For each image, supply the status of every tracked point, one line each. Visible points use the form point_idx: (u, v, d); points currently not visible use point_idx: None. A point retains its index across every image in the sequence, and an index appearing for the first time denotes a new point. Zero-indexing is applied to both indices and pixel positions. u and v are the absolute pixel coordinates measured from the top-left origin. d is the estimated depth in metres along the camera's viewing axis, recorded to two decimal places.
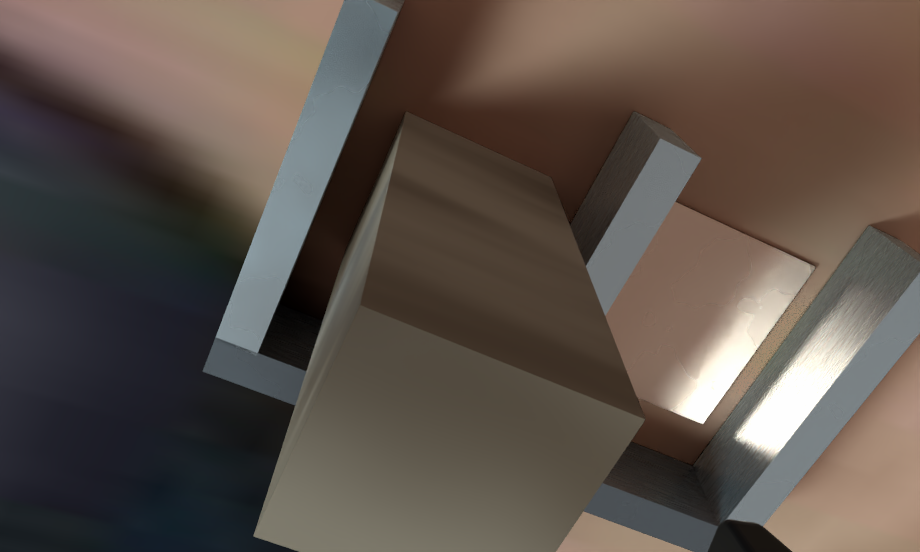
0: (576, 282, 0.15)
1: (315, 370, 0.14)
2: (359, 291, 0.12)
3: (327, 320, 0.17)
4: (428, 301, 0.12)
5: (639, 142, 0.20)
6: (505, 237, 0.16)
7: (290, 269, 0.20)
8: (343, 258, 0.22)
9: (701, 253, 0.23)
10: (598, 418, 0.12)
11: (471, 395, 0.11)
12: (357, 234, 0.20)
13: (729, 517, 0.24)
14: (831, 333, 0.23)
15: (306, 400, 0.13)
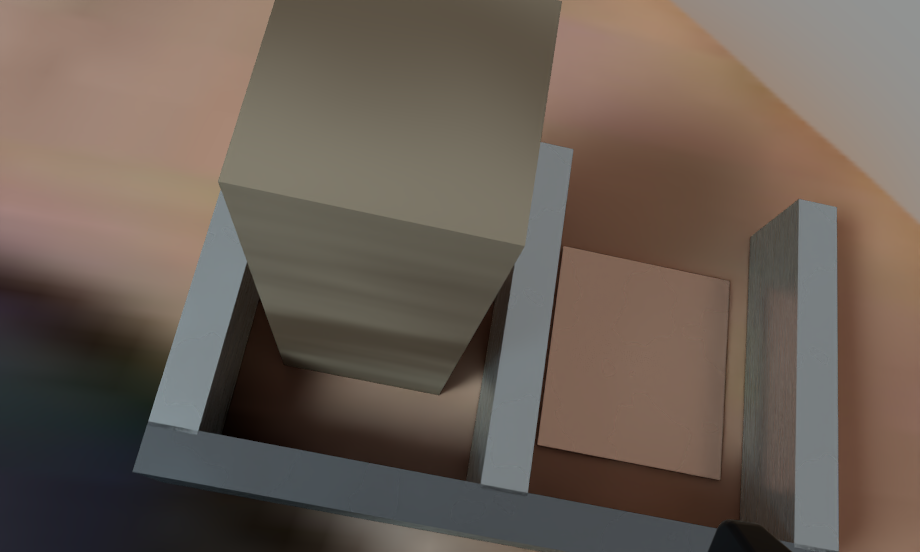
0: None
1: None
2: None
3: None
4: None
5: None
6: None
7: (228, 321, 0.20)
8: None
9: (625, 290, 0.24)
10: (522, 5, 0.13)
11: None
12: None
13: (796, 525, 0.20)
14: (773, 308, 0.23)
15: None
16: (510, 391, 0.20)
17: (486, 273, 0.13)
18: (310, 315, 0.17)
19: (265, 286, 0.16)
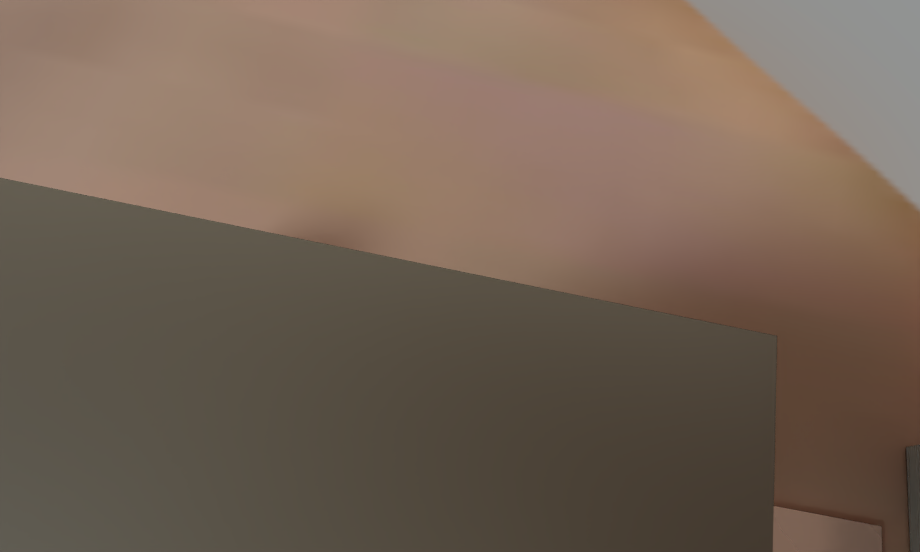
0: None
1: None
2: None
3: None
4: None
5: None
6: None
7: None
8: None
9: None
10: (654, 361, 0.04)
11: (265, 372, 0.04)
12: None
13: None
14: None
15: None
16: None
17: None
18: None
19: None
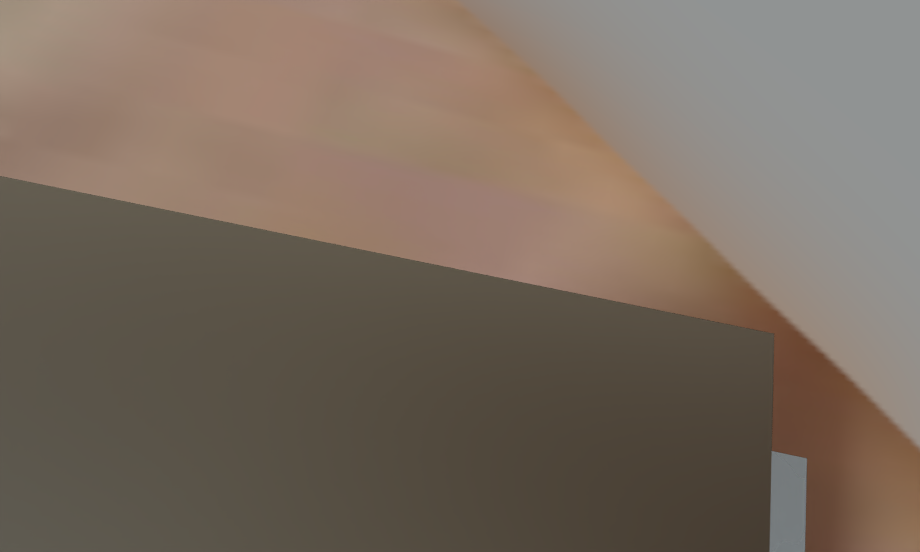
0: None
1: None
2: None
3: None
4: None
5: None
6: None
7: None
8: None
9: None
10: (652, 359, 0.04)
11: (264, 367, 0.04)
12: None
13: None
14: None
15: None
16: None
17: None
18: None
19: None
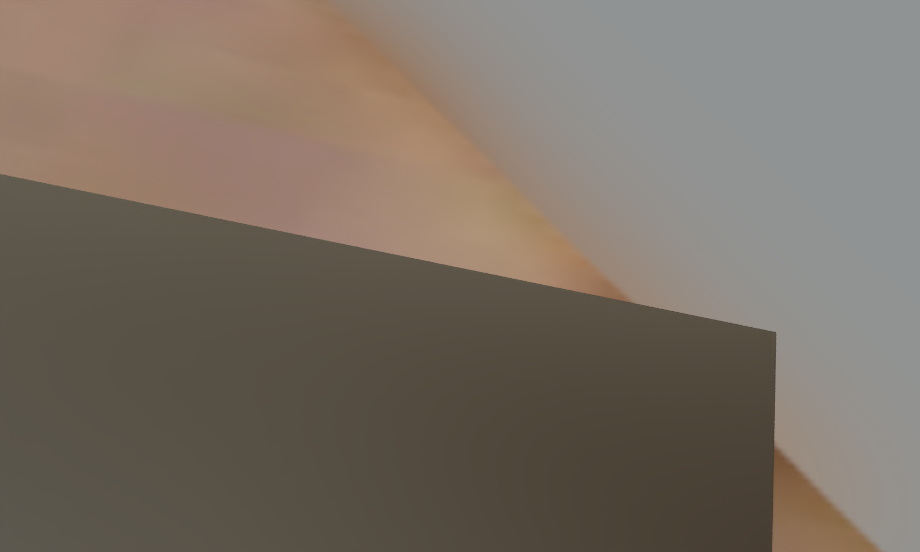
0: None
1: None
2: None
3: None
4: None
5: None
6: None
7: None
8: None
9: None
10: (654, 357, 0.04)
11: (266, 367, 0.04)
12: None
13: None
14: None
15: None
16: None
17: None
18: None
19: None
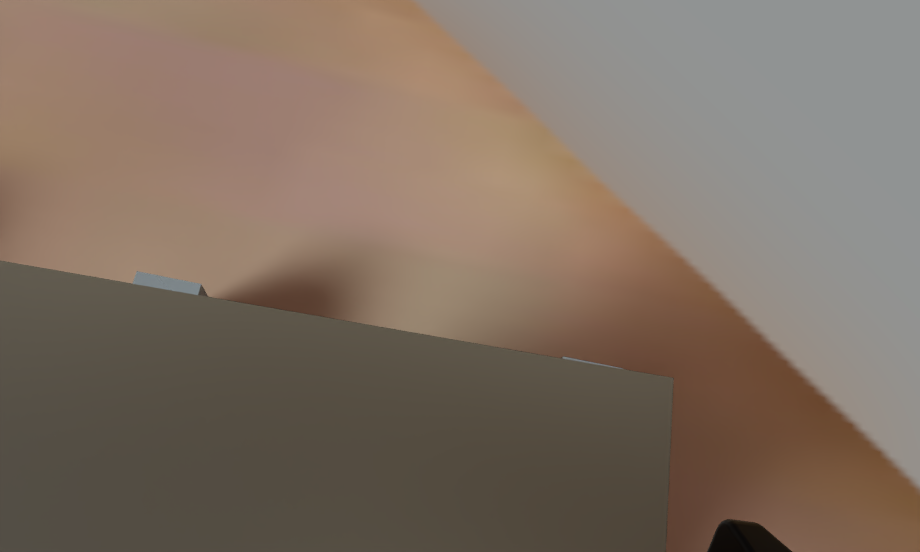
0: None
1: None
2: None
3: None
4: None
5: None
6: None
7: None
8: None
9: None
10: (578, 401, 0.05)
11: (284, 418, 0.05)
12: None
13: None
14: None
15: None
16: None
17: None
18: None
19: None
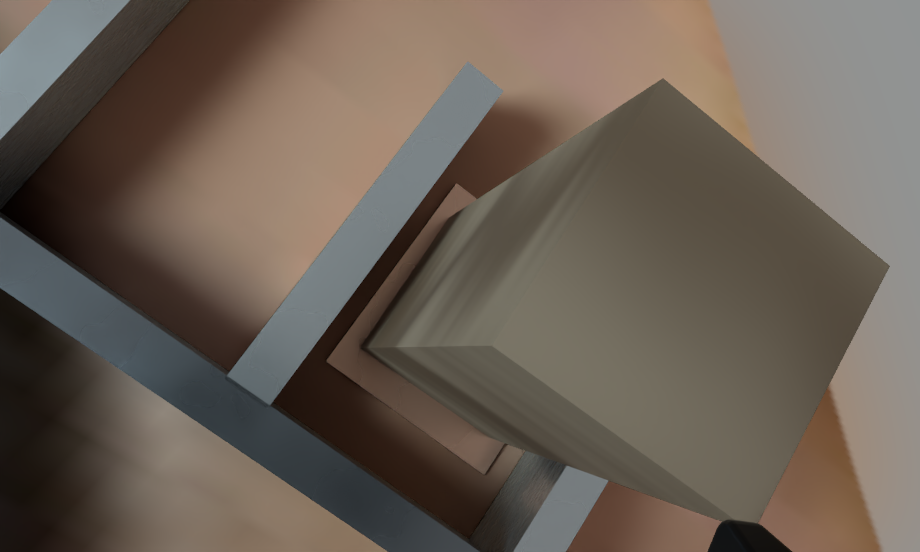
0: None
1: (494, 265, 0.13)
2: (619, 115, 0.12)
3: (433, 304, 0.16)
4: None
5: None
6: None
7: (43, 90, 0.17)
8: (370, 340, 0.20)
9: None
10: (851, 255, 0.12)
11: (745, 202, 0.11)
12: (420, 284, 0.19)
13: None
14: None
15: (514, 258, 0.12)
16: (305, 301, 0.18)
17: (678, 500, 0.12)
18: (440, 375, 0.16)
19: (423, 352, 0.14)
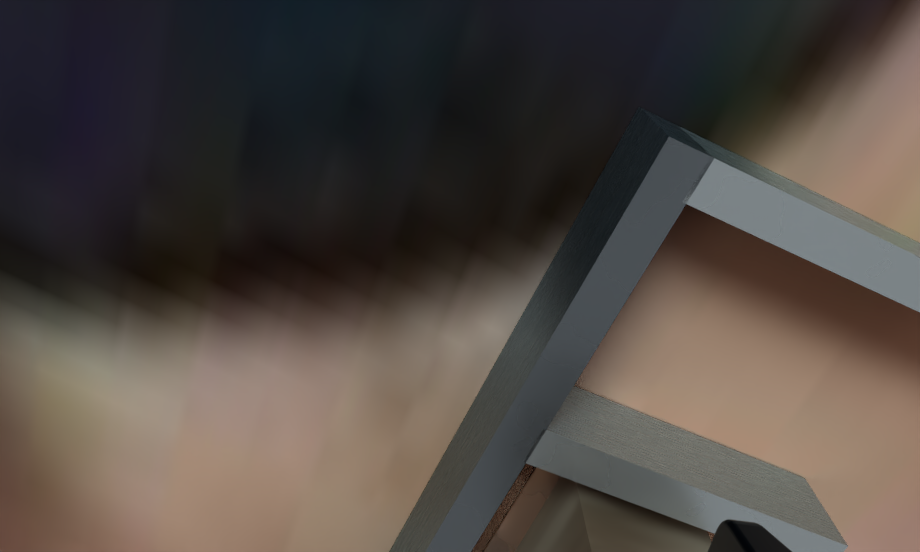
0: None
1: None
2: None
3: None
4: None
5: (816, 511, 0.23)
6: None
7: (786, 249, 0.18)
8: (583, 487, 0.23)
9: None
10: None
11: None
12: (644, 548, 0.22)
13: None
14: None
15: None
16: (617, 471, 0.21)
17: None
18: None
19: None
